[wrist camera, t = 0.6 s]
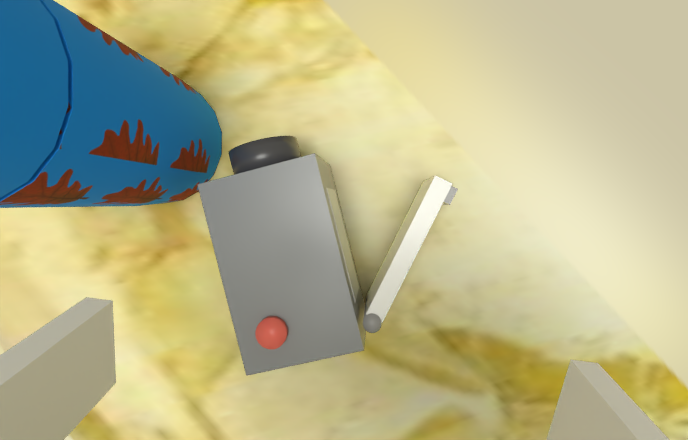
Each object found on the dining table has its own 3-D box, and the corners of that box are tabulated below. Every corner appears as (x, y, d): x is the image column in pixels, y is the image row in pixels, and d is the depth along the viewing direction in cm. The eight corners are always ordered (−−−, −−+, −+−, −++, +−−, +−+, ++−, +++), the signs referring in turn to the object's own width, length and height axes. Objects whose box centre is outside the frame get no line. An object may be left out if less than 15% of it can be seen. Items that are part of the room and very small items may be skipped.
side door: (385, 310, 33) (387, 341, 26) (363, 299, 34) (359, 327, 26) (445, 191, 33) (465, 187, 25) (423, 180, 33) (436, 173, 25)
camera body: (368, 315, 34) (364, 353, 25) (276, 335, 35) (243, 379, 26) (324, 141, 34) (306, 120, 25) (233, 165, 34) (185, 153, 26)
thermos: (88, 103, 35) (-615, -137, 10) (200, 60, 34) (-280, -322, 9) (128, 221, 35) (-470, 267, 10) (240, 182, 34) (-124, 128, 9)
